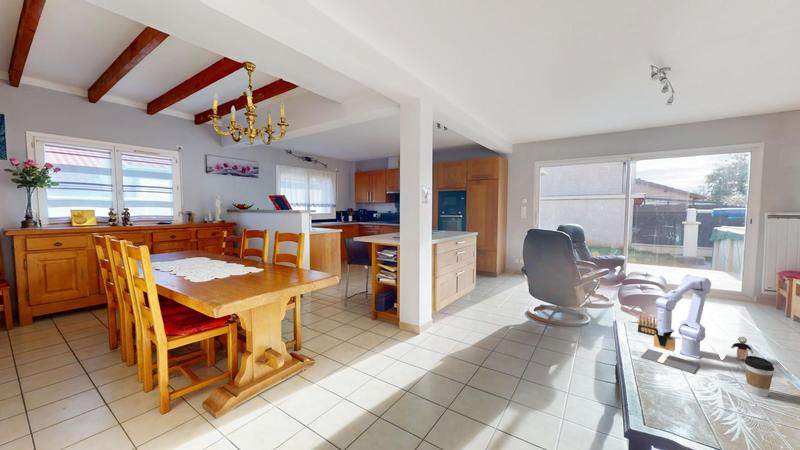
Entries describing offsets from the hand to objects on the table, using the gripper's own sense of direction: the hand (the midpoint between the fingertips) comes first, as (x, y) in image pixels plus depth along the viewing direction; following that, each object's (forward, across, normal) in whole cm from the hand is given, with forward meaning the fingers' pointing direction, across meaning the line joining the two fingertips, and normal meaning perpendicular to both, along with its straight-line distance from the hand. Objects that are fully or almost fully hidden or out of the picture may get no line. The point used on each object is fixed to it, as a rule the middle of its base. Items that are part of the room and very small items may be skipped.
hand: (663, 344), depth 160 cm
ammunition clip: (+8, +34, +14) cm, 38 cm away
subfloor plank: (+8, 0, -2) cm, 8 cm away
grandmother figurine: (+8, +31, -26) cm, 41 cm away
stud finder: (+2, 0, 0) cm, 2 cm away
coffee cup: (+8, -6, -33) cm, 35 cm away
